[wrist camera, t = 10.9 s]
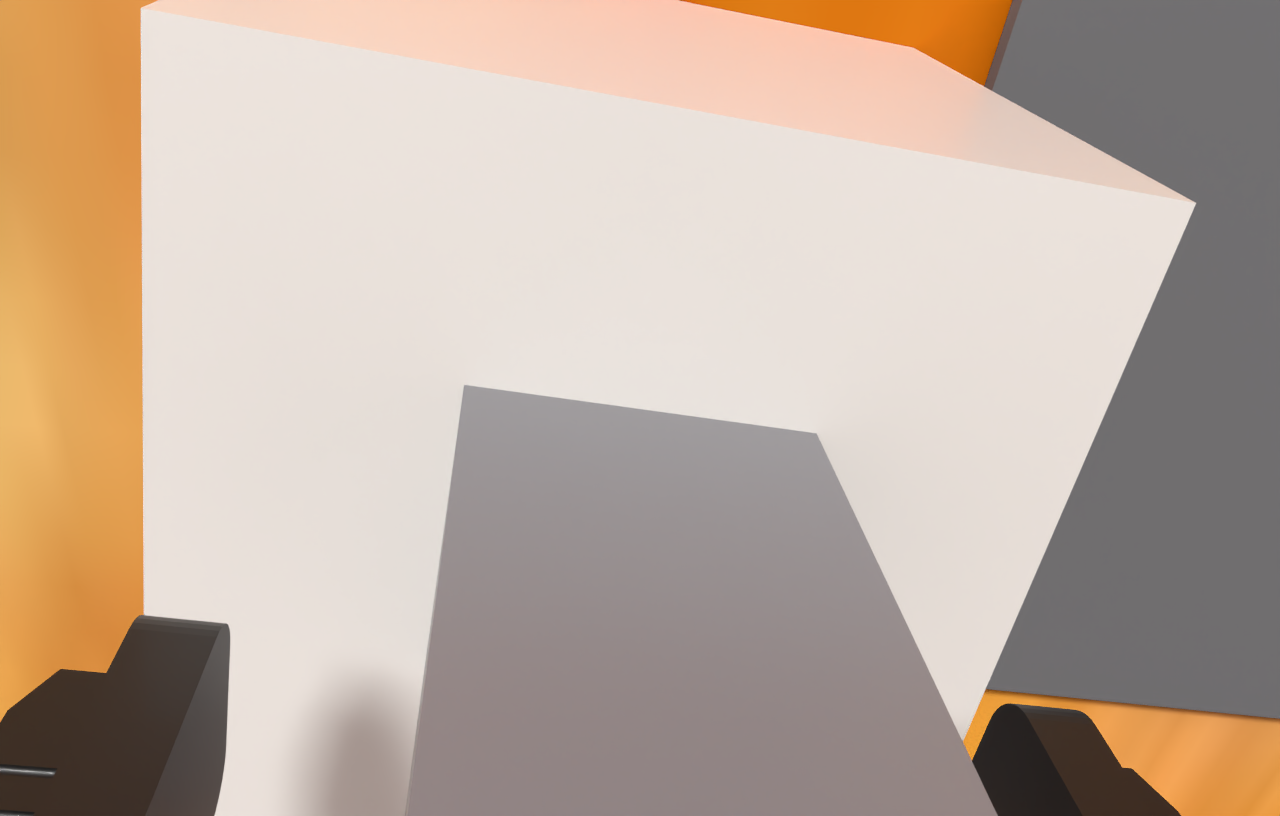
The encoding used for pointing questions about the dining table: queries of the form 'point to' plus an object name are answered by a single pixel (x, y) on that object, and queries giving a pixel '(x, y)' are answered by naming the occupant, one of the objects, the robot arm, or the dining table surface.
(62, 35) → the dining table surface
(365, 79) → the cover
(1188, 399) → the mat
